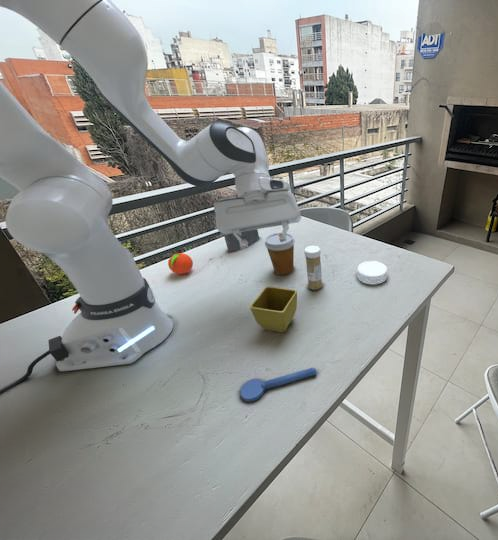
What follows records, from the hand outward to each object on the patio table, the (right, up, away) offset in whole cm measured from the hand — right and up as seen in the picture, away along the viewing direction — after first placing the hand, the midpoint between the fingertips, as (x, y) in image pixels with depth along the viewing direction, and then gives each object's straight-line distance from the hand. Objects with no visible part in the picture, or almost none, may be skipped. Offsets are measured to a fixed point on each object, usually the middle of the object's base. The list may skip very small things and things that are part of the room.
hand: (264, 244), depth 70 cm
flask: (-22, +4, +43) cm, 49 cm away
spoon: (+6, -31, -10) cm, 33 cm away
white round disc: (+28, -9, +25) cm, 38 cm away
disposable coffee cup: (-3, -6, +28) cm, 29 cm away
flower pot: (+2, -21, +5) cm, 22 cm away
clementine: (-36, -8, +25) cm, 44 cm away
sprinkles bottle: (+10, -12, +20) cm, 25 cm away
